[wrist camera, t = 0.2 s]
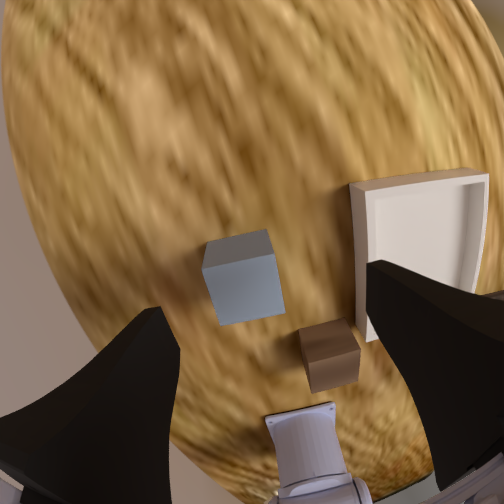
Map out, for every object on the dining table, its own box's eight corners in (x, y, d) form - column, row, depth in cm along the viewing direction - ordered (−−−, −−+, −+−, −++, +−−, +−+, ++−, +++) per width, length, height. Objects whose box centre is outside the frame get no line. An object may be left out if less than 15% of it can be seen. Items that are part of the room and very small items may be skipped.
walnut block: (344, 349, 24) (358, 380, 20) (302, 360, 24) (311, 393, 20) (344, 317, 22) (360, 349, 18) (297, 328, 22) (308, 363, 18)
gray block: (276, 280, 20) (285, 312, 16) (222, 291, 20) (220, 325, 17) (266, 228, 18) (274, 253, 15) (207, 241, 19) (201, 269, 15)
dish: (458, 288, 22) (472, 301, 20) (355, 323, 22) (365, 342, 20) (469, 167, 17) (489, 173, 15) (348, 183, 17) (364, 191, 15)
